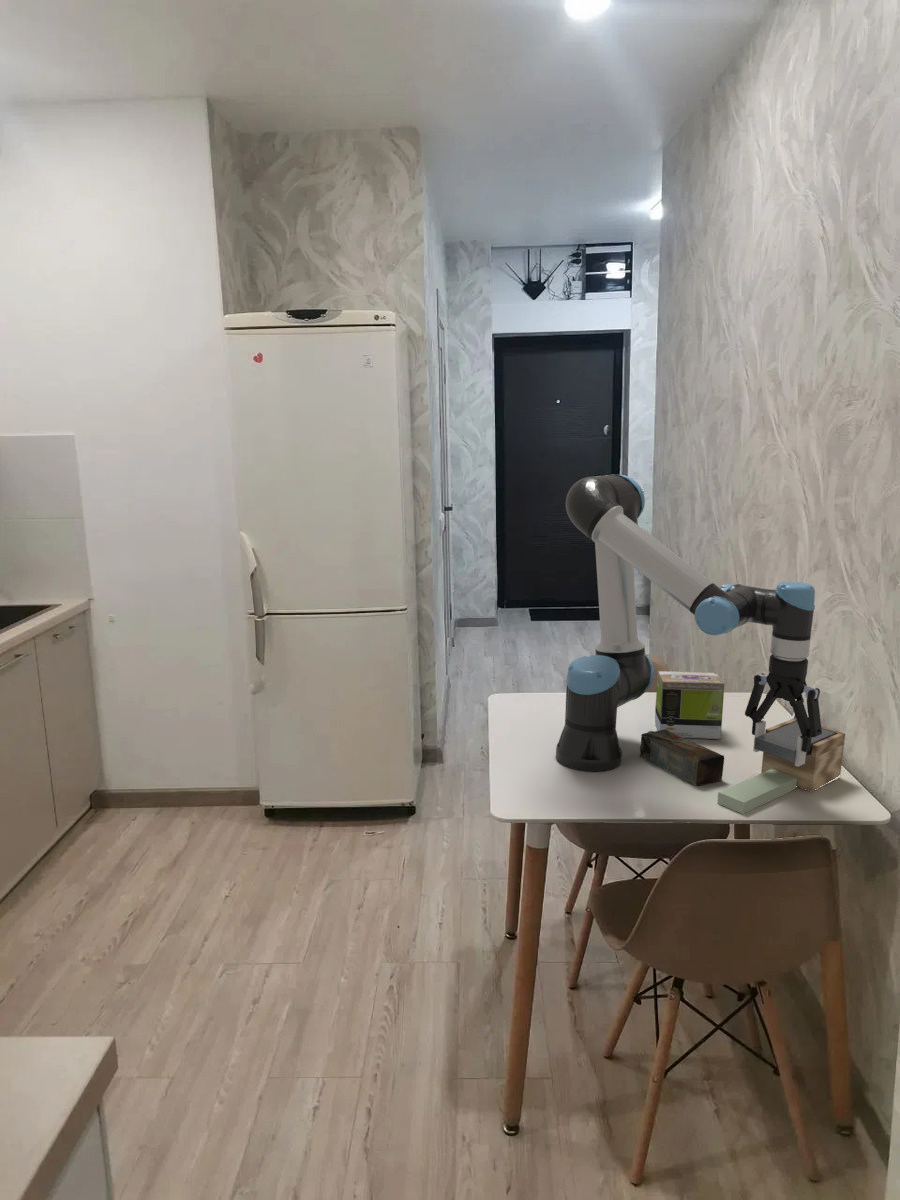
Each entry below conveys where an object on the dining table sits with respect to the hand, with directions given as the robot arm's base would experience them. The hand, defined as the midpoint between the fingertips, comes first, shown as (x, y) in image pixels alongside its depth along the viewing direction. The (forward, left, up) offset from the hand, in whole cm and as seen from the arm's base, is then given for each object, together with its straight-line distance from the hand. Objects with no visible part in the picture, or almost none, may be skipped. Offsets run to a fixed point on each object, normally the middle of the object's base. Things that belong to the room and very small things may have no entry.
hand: (778, 757), depth 184 cm
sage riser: (-7, 0, -7) cm, 10 cm away
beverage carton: (-8, +19, -7) cm, 22 cm away
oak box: (+10, 0, -7) cm, 12 cm away
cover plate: (+6, 0, +1) cm, 6 cm away
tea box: (+12, +32, -7) cm, 35 cm away
